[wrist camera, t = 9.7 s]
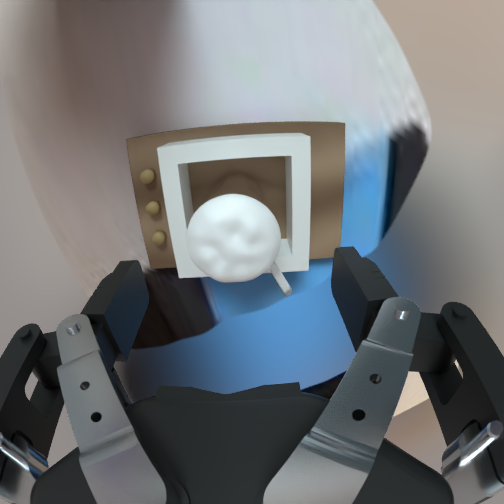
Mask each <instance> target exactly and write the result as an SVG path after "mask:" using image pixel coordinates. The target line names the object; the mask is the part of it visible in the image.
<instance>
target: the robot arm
mask: <svg viewBox="0 0 504 504" xmlns="http://www.w3.org/2000/svg"><path fill="white" fill-rule="evenodd" d="M331 288H332V294H333V297H334V299H335V301H336V304H337V306H338V308H339V311H340V314H341V316H342V318H343V321H344V323H345V326H346V328H347V331H348V333H349V336H350V339H351V341H352V344H353V346H354V349H355V351H356V352H357V353H356V355H355V357H354V359H353V361H352V363H351V364H350V366H349V368H348V370H347V372H346V374H345V375H344V377H343V379H342V381H341V383H340V384H339V386H338V388H337V390H336V391H335V393H334V395H333V396H332V398H331V400H329V399H327V398H324V397H322V396H318V395H315V394H310V393H305V392H301V390H300V385H299V382H296V383H287V384H274V385H263V386H259V387H256V388H252V389H248V390H244V391H240V392H236V393H232V394H219V393H215V392H210V391H206V390H201V389H197V388H193V387H172V386H158V388H157V393H156V396H152V397H148V398H145V399H142V400H139V401H138V402H135V403H133V404H132V402H131V400H130V398H129V396H128V394H127V392H126V390H125V389H124V386H123V385H122V382H121V380H120V378H119V376H118V374H117V372H116V370H115V368H114V363H115V361H122V362H126V361H127V359H128V356H129V353H130V350H131V348H132V345H133V342H134V340H135V337H136V334H137V332H138V329H139V327H140V324H141V321H142V319H143V316H144V314H145V311H146V309H147V306H148V303H149V294H148V289H147V286H146V283H145V279H144V276H143V272H142V269H141V265H140V263H139V261H138V260H130V261H120V262H119V264H118V265H117V267H116V268H115V270H114V271H113V273H110V274H109V275H108V276H106V277H105V278H104V279H103V280H102V281H101V282H100V284H99V285H98V287H97V289H96V290H95V291H94V293H93V295H92V296H91V297H90V299H89V301H88V302H87V304H86V305H85V307H84V308H83V310H82V312H81V313H80V314H75V315H72V316H70V317H67V318H66V319H64V320H63V321H62V322H61V323H60V324H59V325H58V327H57V330H56V331H55V332H50V333H45V334H43V333H42V331H41V329H40V327H39V326H38V325H37V324H28V325H25V326H23V327H22V328H20V329H19V330H18V331H17V332H16V333H15V335H14V336H13V338H12V339H11V341H10V343H9V344H8V346H7V348H6V349H5V351H4V353H3V354H2V356H1V358H0V498H1V499H2V500H4V501H6V502H8V503H11V504H479V503H481V502H483V501H485V500H487V499H489V498H491V497H493V496H495V495H497V494H498V493H500V492H502V491H503V490H504V357H503V355H502V354H501V352H500V350H499V349H498V347H497V346H496V344H495V343H494V341H493V340H492V338H491V337H490V335H489V334H488V332H487V331H486V329H485V328H484V327H483V325H482V324H481V322H480V321H479V320H478V318H477V317H476V315H475V314H474V313H473V311H472V310H471V309H470V308H469V307H467V306H466V305H464V304H462V303H458V302H448V303H446V304H445V305H444V306H443V307H442V310H441V312H440V314H434V313H422V312H421V311H420V308H419V307H418V306H417V305H416V303H414V302H413V301H411V300H409V299H406V298H403V297H399V296H398V295H397V293H396V292H395V291H394V289H393V288H392V286H391V285H390V283H389V282H388V280H387V279H385V276H384V275H383V273H381V271H380V269H379V268H378V266H377V265H376V264H375V263H374V262H372V261H371V260H369V259H368V258H366V257H365V258H362V257H361V256H360V255H359V253H358V252H357V250H356V249H355V248H354V247H338V248H335V250H334V257H333V268H332V278H331ZM455 360H457V362H458V363H459V365H460V367H461V369H462V372H463V378H462V377H461V374H460V373H459V371H458V369H457V367H456V365H455V363H454V362H455ZM408 371H415V372H419V373H420V376H421V378H422V380H423V383H424V385H425V388H426V390H427V393H428V395H429V398H430V400H431V403H432V405H433V408H434V411H435V413H436V416H437V419H438V421H439V424H440V427H441V430H442V433H443V436H444V438H445V442H446V444H447V448H446V449H445V451H444V453H443V456H442V467H441V472H442V475H441V474H439V473H438V472H437V471H435V470H434V469H432V468H430V467H428V466H427V465H425V464H424V463H422V462H421V461H419V460H417V459H416V458H414V457H413V456H411V455H410V454H408V453H407V452H405V451H403V450H402V449H400V448H399V447H397V446H396V445H394V444H393V443H392V442H390V441H389V440H387V439H386V438H384V436H385V434H386V432H387V429H388V427H389V425H390V422H391V420H392V417H393V415H394V412H395V409H396V407H397V404H398V401H399V399H400V396H401V393H402V390H403V387H404V384H405V381H406V378H407V375H408ZM31 372H33V373H34V375H35V376H36V377H37V379H38V382H37V385H36V387H35V389H34V391H33V394H32V396H31V399H30V401H29V400H28V398H27V397H26V394H25V385H26V382H27V380H28V378H29V376H30V374H31ZM64 402H65V406H66V409H67V413H68V417H69V420H70V423H71V426H72V430H73V433H74V436H75V438H76V441H77V444H78V447H77V448H75V449H74V450H73V451H71V452H70V453H69V454H68V455H66V456H65V457H64V458H62V459H61V460H60V461H58V462H57V463H56V464H54V465H53V466H52V467H50V468H48V462H47V458H48V454H49V450H50V447H51V443H52V440H53V436H54V433H55V429H56V426H57V423H58V420H59V417H60V414H61V411H62V408H63V405H64Z"/></svg>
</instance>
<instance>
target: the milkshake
mask: <svg viewBox="0 0 504 504" xmlns="http://www.w3.org/2000/svg"><path fill="white" fill-rule="evenodd" d="M186 241H187V248H188V253H189V256H190V258H191V260H192V262H193V263H194V264H195V266H196V267H197V268H198V269H200V270H201V271H202V272H204V273H205V274H207V275H208V276H210V277H211V278H213V279H214V280H217V281H219V282H245V281H249V280H252V279H254V278H256V277H258V276H260V275H261V274H262V273H264V272H265V271H266V270H267V269H268V268H269V269H270V271H271V273H272V274H273V276H274V278H275V279H276V281H277V283H278V285H279V286H280V288H281V290H282V291H283V293H284V295H285V296H286V297H288V296H289V294H290V293H291V292H292V289H291V287H290V285H289V284H288V282H287V280H286V279H285V277H284V276H283V274H282V272H281V271H280V269H279V268H278V266H277V264H276V263H275V259H276V257H277V255H278V253H279V250H280V246H281V233H280V228H279V225H278V222H277V220H276V218H275V216H274V215H273V213H272V212H271V210H270V208H269V207H268V205H267V203H266V202H265V200H264V198H263V196H262V194H261V192H260V190H259V188H258V186H257V184H256V182H255V181H254V180H252V179H251V178H249V177H248V176H246V175H245V174H229V175H227V176H226V177H225V178H223V179H222V180H221V181H220V182H218V183H217V185H216V186H215V187H214V189H213V190H212V192H211V193H210V194H209V196H208V197H207V199H206V200H205V201H204V202H203V204H202V205H201V206H200V207H199V208H198V209H197V211H196V212H195V213H194V215H193V216H192V218H191V220H190V222H189V225H188V229H187V235H186Z"/></svg>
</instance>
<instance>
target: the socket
mask: <svg viewBox="0 0 504 504" xmlns="http://www.w3.org/2000/svg"><path fill="white" fill-rule="evenodd" d="M157 152H158V160H159V167H160V174H161V181H162V188H163V194H164V200H165V207H166V212H167V218H168V224H169V229H170V235H171V240H172V245H173V250H174V255H175V260H176V265H177V270H178V275H179V278H192V277H210V276H208V275H207V274H205V273H204V272H202V271H201V270H200V269H198V268H197V267H196V266H195V264H194V263H193V262H192V260H191V258H190V256H189V253H188V248H187V241H186V235H187V229H188V225H189V222H190V220H191V218H192V216H193V215H194V211H193V204H192V196H191V188H190V180H189V172H188V163H191V162H200V161H211V160H222V159H234V158H249V157H268V156H285V169H286V220H287V239H281V246H280V250H279V253H278V255H277V257H276V259H275V263H276V264H277V266H278V268H279V269H280V271H281V272H292V271H306V270H308V269H309V246H310V208H311V145H310V136H308V135H305V134H303V133H273V134H252V135H236V136H224V137H213V138H203V139H194V140H186V141H178V142H171V143H167V144H165V145H163V146H160V147H158V148H157ZM264 273H271V271H270V269H269V268H268V269H267V270H266V271H265V272H264Z"/></svg>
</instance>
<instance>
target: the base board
mask: <svg viewBox="0 0 504 504" xmlns="http://www.w3.org/2000/svg"><path fill="white" fill-rule="evenodd" d="M273 133H303V134H305V135H308V136H310V145H311V208H310V246H309V259H320V258H333V257H334V250H335V248H338V247H340V241H341V229H342V214H343V196H344V170H345V123H340V122H260V123H242V124H229V125H217V126H207V127H198V128H190V129H182V130H175V131H168V132H162V133H156V134H150V135H144V136H139V137H134V138H130V139H126V141H127V149H128V156H129V162H130V169H131V175H132V181H133V187H134V192H135V198H136V203H137V208H138V213H139V218H140V223H141V228H142V232H143V237H144V241H145V246H146V250H147V254H148V258H149V262H150V266H151V269H155V268H174V267H177V265H176V260H175V255H174V250H173V245H172V240H171V235H170V229H169V224H168V218H167V212H166V207H165V200H164V194H163V188H162V181H161V174H160V167H159V160H158V152H157V148H158V147H160V146H163V145H165V144H167V143H171V142H178V141H186V140H194V139H203V138H213V137H224V136H236V135H252V134H273ZM188 172H189V180H190V188H191V196H192V204H193V211H194V213H195V212H196V211H197V209H198V208H199V207H200V206H201V205H202V204H203V202H204V201H205V200H206V199H207V197H208V196H209V194H210V193H211V192H212V190H213V189H214V187H215V186H216V185H217V183H218V182H220V181H221V180H222V179H223V178H225V177H226V176H227V175H229V174H245V175H246V176H248V177H249V178H251V179H252V180H254V181H255V182H256V184H257V186H258V188H259V190H260V192H261V194H262V196H263V198H264V200H265V202H266V203H267V205H268V207H269V208H270V210H271V212H272V213H273V215H274V216H275V218H276V220H277V222H278V225H279V228H280V233H281V239H287V220H286V169H285V156H268V157H249V158H234V159H222V160H211V161H200V162H191V163H188Z"/></svg>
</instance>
